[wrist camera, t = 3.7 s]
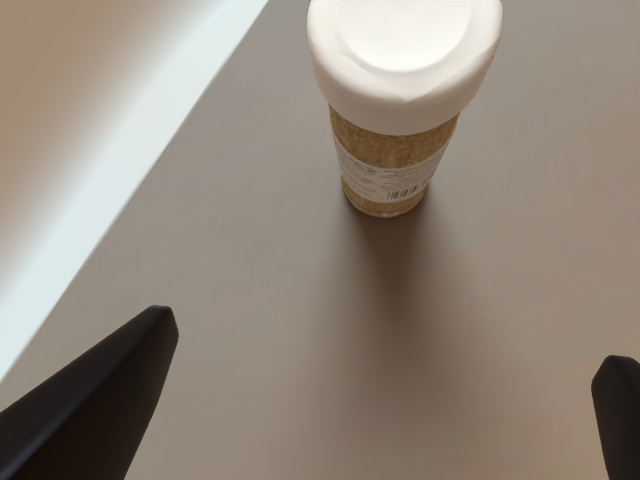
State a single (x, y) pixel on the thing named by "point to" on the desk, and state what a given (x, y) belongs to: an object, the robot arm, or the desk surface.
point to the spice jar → (397, 87)
